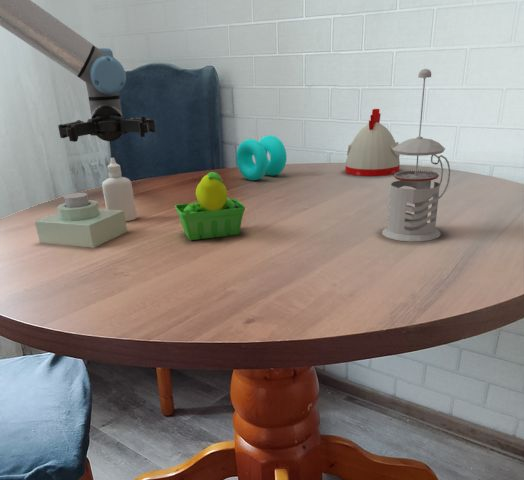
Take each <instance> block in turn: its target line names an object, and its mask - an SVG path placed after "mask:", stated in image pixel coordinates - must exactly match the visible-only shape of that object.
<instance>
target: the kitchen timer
mask: <svg viewBox="0 0 524 480" xmlns="http://www.w3.org/2000/svg"><path fill="white" fill-rule="evenodd" d="M371 111H372V112H371V114H370V120H368V123H367V124H366V125H364V127H362V128H361V129H360V130H359V132H357V134H356V135H355V137H354V139H353V140H352V142H351V143H350V144H348V148H347V153H346V159H345V168H344V169H345V170H344V171H345V173H346V174H348V175H351V176H359V177H383V176H391V175H394V174H395V173H396V172H400V165H401V164H400V163H401V162H400V154H396V153H394V151H393V148H394V147H395V146H397V145H398V144H399V141H395V138H394V136H393V135H392V133H391V131H390V130H389V129H388V128H387V127H386V126H385V125H383V124H382V123H380V121H381V114H382V113H381V112H380V108H374V109H372V110H371Z"/></svg>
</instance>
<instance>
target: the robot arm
mask: <svg viewBox="0 0 524 480" xmlns="http://www.w3.org/2000/svg"><path fill="white" fill-rule="evenodd" d="M0 27H2V28H3V29H5V30H6V31H8V32H9V33H10V34H12V35H14V36H15V37H17V38H18V39H20V40H21V41H23V42H25V43H26V44H28V46H30V47H32V48H33V49H35V50H37V51H38V52H39V53H41V54H43V55H44V56H45V57H47V58H48V59H50V60H52V61H53V62H54V63H56V64H58V65H59V66H61V67H62V68H64V69H65V70H67V71H68V72H69V73H71V74H73V75H74V76H76V77H77V78H79V79H80V80H81V81H83V82H84V83H85V85H86V90H87V91H86V92H87V96H88V97H87V98H88V104H89V110H90V116H91V118H88V119H87V121H83V120H80V119H78V120H75V121H73V122H68V123H67V122H66V123H63V124H62V123H60V124H58V125H57V129H58V133H59V136H60V137H59V138H60V139H65V138H68V140H69V142H73V143H75V142H76V143H77V142H78V141H79V137H82V136H83V137H84V136H88V135H90V136H92V137H93V136H94V137H95V136H96V137H98V138H99V139H100V140H102V141H105V142H114V141H117V140H119V139H120V138H121V137H122V135H124V134H128V133H138V134H139V136H140V138H145V137H146V135H145V134H147V133H149V132H150V133H156V132H157V129H156V120H155V119H154V118H147V116H146V115H145V116H140V117H136V116H133V117H131V118H130V119H127V118H126V117H125V116H123V111H122V105H121V98H120V92H121V91H122V90H123V88H124V87H125V85H126V80H127V73H126V70H125V67H124V66H123V64H122V63H121V62H120V61H119V60H118V59H117V58H115V57H114V53H113V50H112V49H111V48H109V47H108V48H107V47H106V48H105V47H104V48H103V47H102V48H98V47H97V46H95V45H94V44H93V43H92V42H90V41H88V40H87V39H86V38H85V37H83V36H82V35H80V34H79V33H77V32H76V31H75V30H73V29H72V28H70V27H69V26H68V25H66V24H65V23H63V22H62V21H61V20H59V19H57V17H55V16H53V14H51V13H50V12H48V11H46V10H45V9H44V8H42V7H41V6H40V5H38V4H37V3H36V2H34V1H32V0H0Z"/></svg>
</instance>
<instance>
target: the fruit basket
mask: <svg viewBox="0 0 524 480" xmlns="http://www.w3.org/2000/svg"><path fill="white" fill-rule="evenodd" d="M195 197H196V200H197V201H195V202H189V203H179V204H175V205H174V209H175V212H176V213H177V215H178V217H179V220H180V223H181V226H182V229H183V232H184V234H185V235H186V237H187V238H188V240H189V241H198V240H205V239H207V240H208V239H213V238H222V237H228V236H238V235H240V231H241V226H242V220H243V216H244V213H245V210H246V206H245V205H243V203H242V202H240V201H239V200H238V199H236V198H229V197H228V190H227V187H226V185H225V184H224V183H223V179H222V177H221V175H220V174H219V173H217V172H215V171H211V172H210V171H209V172H208V173H207V174H205V175H204V176H203V177H202V178H201V180H200V181H199V183H198V184H197V186H196V188H195Z"/></svg>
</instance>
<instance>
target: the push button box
mask: <svg viewBox="0 0 524 480" xmlns="http://www.w3.org/2000/svg"><path fill="white" fill-rule="evenodd" d="M88 200H89V205H87V206H83V207H76V208H67V207H66V204H65V202H63V203H60V204H58V205H57V206H56V210H57V212H56V213H52V214H50V215H47V216H44V217H42V218H38V219H35V220H34V225H35V228H36V233H37V236H38V240H39V244H48V245H49V244H51V245H58V246H59V245H60V246H71V247H79V248H81V247H82V248H91V249H94V248H97V247H98V246H100V245H103V244H105V243H107V242H109V241H111V240H113V239H115V238H118V237H119V236H122V235H124V234H126V233H128V228H127V223H126V222H127V221H126V222H125V216H124V211H121V210H106V208H100V206H99V202H98V201H97V200H93V199H88Z"/></svg>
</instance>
